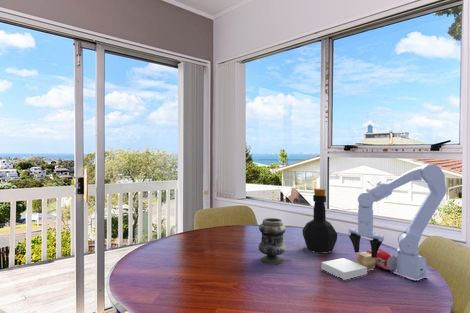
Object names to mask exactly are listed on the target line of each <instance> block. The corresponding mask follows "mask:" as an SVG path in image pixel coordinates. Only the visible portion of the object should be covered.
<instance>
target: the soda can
mask: <svg viewBox="0 0 470 313" xmlns="http://www.w3.org/2000/svg"><path fill="white" fill-rule="evenodd" d="M366 252H367V253H370V254H371V247H369V248H368V249H367V251H366ZM375 267H378V268H380V267H381V269H382V268H383V269H382V270H385V269H386V270H385V271H388V270H390V271H391V272H393V271H392V270H394V271H397V256H396V255H395V254H393V253H391V252H390V251H386V250H384V249H380V248H379V249H378V252H377V255H376V257H375Z"/></svg>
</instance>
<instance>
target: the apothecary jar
mask: <svg viewBox="0 0 470 313" xmlns="http://www.w3.org/2000/svg"><path fill="white" fill-rule="evenodd" d="M258 230H259V231H260V233H261V240H260V242H259V243H258V246H257V247H258V251H259V252H261V253H262V254H264V255H265V256H262V257H261V258H260V261H261V262H262V263H265V264H269V265H270V264H271V265H279V264H282V263H283V261H284V259H283V258H282V257H280V255H283V254H284V253H285V252H286V250H287V247H286V245H285V244H284V234H285V233H286V231H287V227H286V226H285V225H284V222H283V220H282V219H281V218H276V217H266V218H263V219H262V223H260V225H259V226H258Z"/></svg>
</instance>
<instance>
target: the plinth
mask: <svg viewBox="0 0 470 313" xmlns="http://www.w3.org/2000/svg"><path fill="white" fill-rule="evenodd" d="M322 269H323V270H325V271H327V272H326V273H328V272H329V273H328V274H330V273H331V274H330V275H332V274H333V275H332V276H334V275H335V276H334V277H336V276H337V277H336V278H338V277H340V278H342V279H343V280H342V279H341V280H342V281H344V280H345V281H347V280H346V279H349V280H351V279H350V278H353V277H357V276H360V275H364V274H367V275H368V272H367V267H365V266H363V265H360V264H357V263H356V261H355V262H354V261H353V260H349V259H348V258H344V257H342V258H337V259H331V260H327V261H321V270H322ZM323 270H322V271H323ZM325 271H324V272H325ZM340 278H339V279H340ZM357 278H358V277H357ZM353 279H354V278H353Z"/></svg>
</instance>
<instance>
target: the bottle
mask: <svg viewBox="0 0 470 313" xmlns="http://www.w3.org/2000/svg"><path fill="white" fill-rule="evenodd" d="M313 190H314V191H313V192H314V195H312V197H313V198H312V200H313V202H314V204H313V219H312V220H309V221H308V222H306V224H305V225H304V227H303V228H302V237H303V240H304V242H305V246H306V249H307V250H308V251H309V250H311V251H310V252H312V251H314V252H313V253H316V252H329V251H332V250H333V251H334V248H335V245H336V243H337V240H338V232H337V231H336V229H335V228H334V226H333V225H332V223H331V222H330V221H328V220H326V216H327V214H326V205H325V204H326V202H327V196H326V195H325V194H326V189H325V188H314V189H313ZM333 251H332V252H333ZM329 253H330V252H329Z"/></svg>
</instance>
